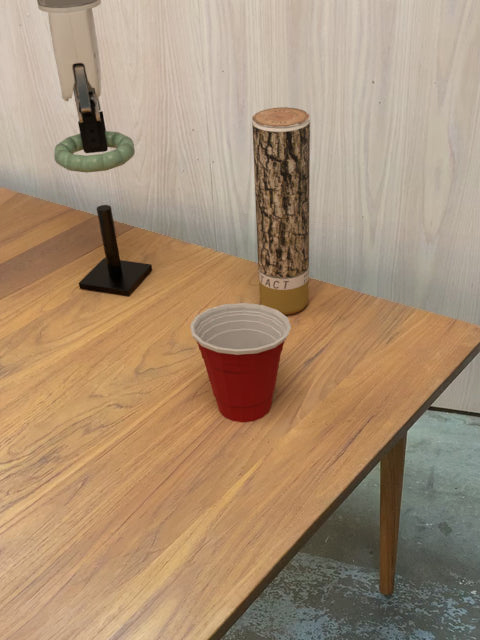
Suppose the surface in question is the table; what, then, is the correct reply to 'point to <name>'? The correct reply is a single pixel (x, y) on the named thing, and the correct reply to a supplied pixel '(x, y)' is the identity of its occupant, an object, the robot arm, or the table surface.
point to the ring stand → (113, 263)
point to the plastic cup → (241, 356)
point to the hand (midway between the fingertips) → (95, 146)
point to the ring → (94, 162)
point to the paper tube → (282, 206)
